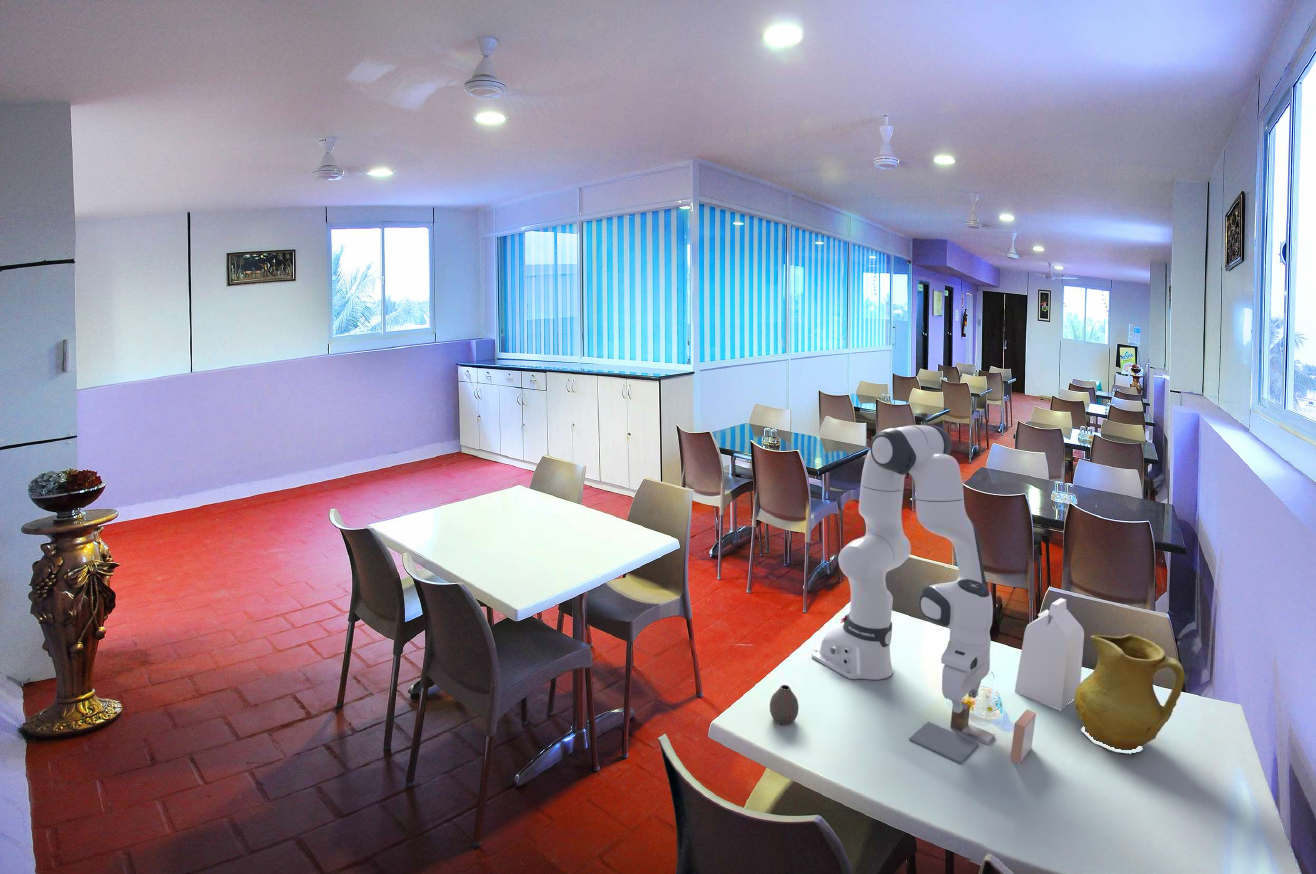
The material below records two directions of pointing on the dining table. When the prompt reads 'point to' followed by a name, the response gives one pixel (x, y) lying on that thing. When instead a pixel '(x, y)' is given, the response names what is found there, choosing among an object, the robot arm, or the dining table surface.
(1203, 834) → the dining table surface
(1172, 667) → the pitcher
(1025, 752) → the tile
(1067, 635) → the milk
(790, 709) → the vase
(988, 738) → the brown block
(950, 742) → the pad
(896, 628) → the dining table surface
